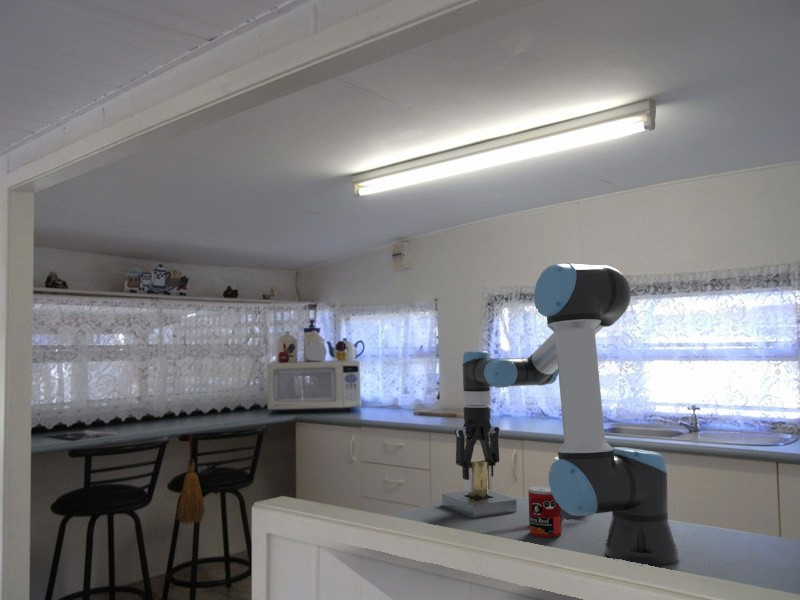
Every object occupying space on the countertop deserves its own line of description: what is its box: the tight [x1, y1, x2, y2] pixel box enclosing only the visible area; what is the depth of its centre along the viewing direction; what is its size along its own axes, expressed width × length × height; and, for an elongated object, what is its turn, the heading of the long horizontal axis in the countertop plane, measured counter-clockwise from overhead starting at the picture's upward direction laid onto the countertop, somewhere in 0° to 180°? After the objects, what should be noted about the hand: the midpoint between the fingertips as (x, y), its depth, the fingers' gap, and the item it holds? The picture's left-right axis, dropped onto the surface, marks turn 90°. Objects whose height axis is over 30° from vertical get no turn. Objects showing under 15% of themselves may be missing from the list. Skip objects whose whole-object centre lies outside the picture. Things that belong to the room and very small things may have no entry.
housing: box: [441, 490, 518, 519], centre depth 189 cm, size 16×14×4 cm
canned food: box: [528, 484, 563, 539], centre depth 168 cm, size 8×8×11 cm
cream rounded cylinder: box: [468, 458, 489, 500], centre depth 189 cm, size 6×6×13 cm
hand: (478, 489), depth 189 cm, fingers closed on cream rounded cylinder, 6 cm apart
